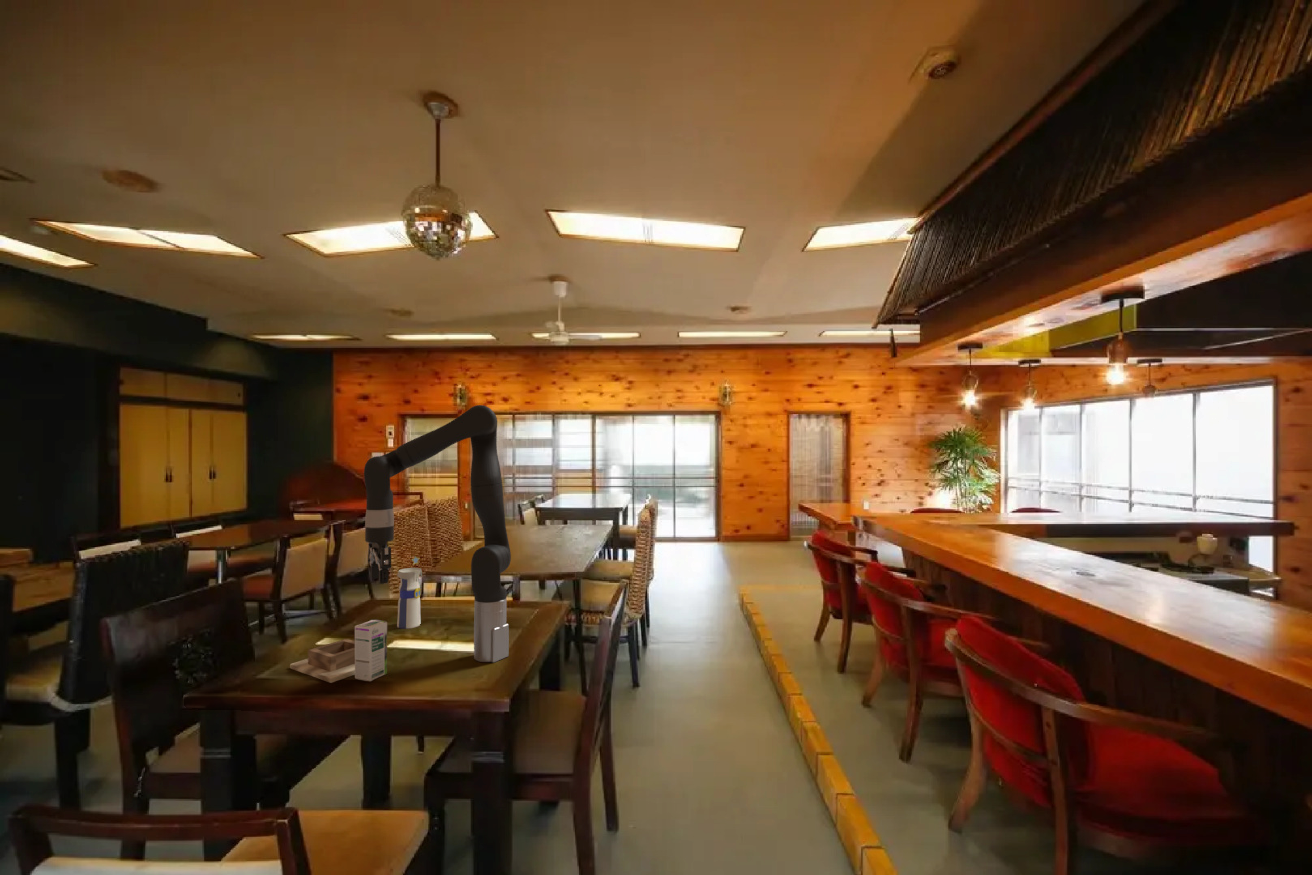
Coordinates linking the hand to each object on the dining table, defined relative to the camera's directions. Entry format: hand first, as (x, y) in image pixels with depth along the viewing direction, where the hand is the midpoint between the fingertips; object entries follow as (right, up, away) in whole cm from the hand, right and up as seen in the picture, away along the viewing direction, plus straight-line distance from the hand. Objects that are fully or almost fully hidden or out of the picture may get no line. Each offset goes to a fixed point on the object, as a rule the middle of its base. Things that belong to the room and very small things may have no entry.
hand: (379, 580), depth 165 cm
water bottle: (-7, -25, +36) cm, 44 cm away
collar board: (-10, -24, -3) cm, 26 cm away
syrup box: (+3, -24, -10) cm, 26 cm away
